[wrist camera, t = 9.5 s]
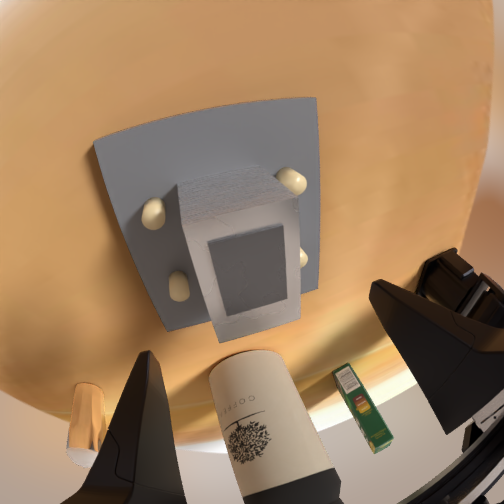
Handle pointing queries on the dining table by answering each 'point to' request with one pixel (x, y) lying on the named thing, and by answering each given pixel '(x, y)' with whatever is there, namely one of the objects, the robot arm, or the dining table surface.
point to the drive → (244, 249)
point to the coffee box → (362, 408)
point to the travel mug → (270, 433)
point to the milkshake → (86, 425)
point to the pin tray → (200, 165)
